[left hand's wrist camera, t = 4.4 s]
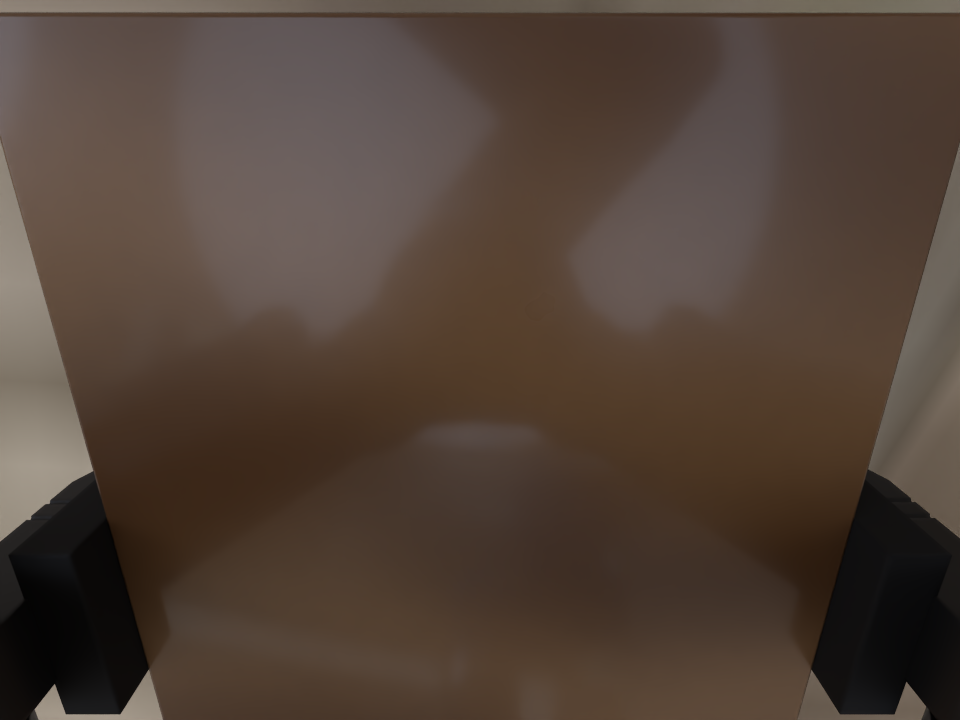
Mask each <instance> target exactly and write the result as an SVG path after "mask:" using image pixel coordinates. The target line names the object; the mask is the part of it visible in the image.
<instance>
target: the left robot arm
mask: <svg viewBox="0 0 960 720" xmlns="http://www.w3.org/2000/svg"><path fill="white" fill-rule="evenodd" d="M148 670H149V667H148V664H147V660H146V657H145V653H144V649H143V646H142V642H141V639H140V635H139V632H138V628H137V625H136V621H135V617H134V614H133V610H132V607H131V603H130V600H129V596H128V592H127V589H126V585H125V582H124V578H123V575H122V571H121V567H120V564H119V560H118V557H117V553H116V550H115V546H114V543H113V539H112V535H111V532H110V528H109V525H108V521H107V518H106V514H105V510H104V507H103V503H102V500H101V496H100V493H99V489H98V486H97V482H96V478H95V475H94V471H93V472H91V473H89V474H87V475H85V476H83V477H81V478H79V479H77V480H75V481H74V482H72V483H71V484H70V485H68V486H67V487H66V488H65V489H63V490H62V491H61V492H60V493H59V494H57V495H56V496H55V497H54V498H53V499H51V500H50V504H45V505H44V506H43V507H42V508H41V509H39V510H38V511H37V512H36V513H34V514H33V515H32V516H31V520H26V521H25V522H24V523H22V524H21V525H20V526H19V527H18V528H16V529H15V530H14V531H13V532H12V533H10V534H9V535H8V536H7V537H5V538H4V539H3V540H2V541H1V542H0V720H38V717H37V715H36V712H35V710H34V709H35V708H36V707H37V705H38V704H39V703H40V702H41V700H42V699H43V698H44V697H45V695H46V694H47V693H48V691H49V690H50V689H51V688H52V686H53V685H54V684H55V685H56V688H57V691H58V694H59V696H60V699H61V702H62V705H63V707H64V710H65V713H66V714H121V712H122V711H123V709H124V708H125V706H126V705H127V703H128V701H129V700H130V698H131V697H132V695H133V693H134V692H135V690H136V689H137V687H138V686H139V684H140V682H141V681H142V679H143V678H144V676H145V674H146V673H147V671H148ZM812 671H813V672H814V674H815V675H816V677H817V679H818V680H819V682H820V683H821V685H822V687H823V688H824V690H825V691H826V693H827V694H828V696H829V698H830V699H831V701H832V702H833V704H834V705H835V707H836V709H837V710H838V712H839V713H840V714H895V711H896V709H897V706H898V703H899V700H900V698H901V695H902V692H903V690H904V687H905V684H906V681H907V683H908V684H909V685H910V686H911V688H912V689H913V690H914V692H915V693H916V694H917V695H918V697H919V698H920V699H921V700H922V702H923V703H924V704H925V705H926V710H925V712H924V715H923V717H922V720H960V538H959V537H957V536H956V535H955V534H954V533H952V532H951V531H950V530H949V529H948V528H946V527H945V526H944V525H943V524H941V523H940V522H939V521H938V520H937V519H935V518H930V514H929V513H928V512H927V511H926V510H924V509H923V508H922V507H921V506H920V505H918V504H917V503H916V502H911V498H910V497H909V496H907V495H906V494H905V493H904V492H902V491H901V490H900V489H899V488H898V487H896V486H895V485H894V484H893V483H892V482H890V481H889V480H887V479H886V478H884V477H882V476H880V475H878V474H876V473H874V472H872V471H870V470H867V474H866V477H865V481H864V484H863V488H862V491H861V495H860V499H859V502H858V506H857V509H856V513H855V516H854V520H853V523H852V527H851V530H850V534H849V538H848V541H847V545H846V548H845V552H844V555H843V559H842V562H841V566H840V570H839V573H838V577H837V580H836V584H835V587H834V591H833V594H832V598H831V602H830V605H829V609H828V612H827V616H826V619H825V623H824V626H823V630H822V633H821V637H820V641H819V644H818V648H817V651H816V655H815V658H814V662H813V665H812Z"/></svg>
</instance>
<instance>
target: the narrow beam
mask: <svg viewBox="0 0 960 720" xmlns="http://www.w3.org/2000/svg"><path fill="white" fill-rule="evenodd" d="M0 140H1V143H2V147H3V151H4V154H5V158H6V161H7V165H8V168H9V172H10V175H11V179H12V183H13V186H14V190H15V193H16V197H17V200H18V204H19V208H20V211H21V215H22V218H23V222H24V225H25V229H26V232H27V236H28V240H29V243H30V247H31V250H32V254H33V257H34V261H35V265H36V268H37V272H38V275H39V279H40V282H41V286H42V290H43V293H44V297H45V300H46V304H47V307H48V311H49V314H50V318H51V322H52V325H53V329H54V332H55V336H56V339H57V343H58V347H59V350H60V354H61V357H62V361H63V364H64V368H65V371H66V375H67V379H68V382H69V386H70V389H71V393H72V396H73V400H74V404H75V407H76V411H77V414H78V418H79V421H80V425H81V428H82V432H83V436H84V439H85V443H86V446H87V450H88V453H89V457H90V461H91V464H92V468H93V471H94V475H95V478H96V482H97V486H98V489H99V493H100V496H101V500H102V503H103V507H104V510H105V514H106V518H107V521H108V525H109V528H110V532H111V535H112V539H113V543H114V546H115V550H116V553H117V557H118V560H119V564H120V567H121V571H122V575H123V578H124V582H125V585H126V589H127V592H128V596H129V600H130V603H131V607H132V610H133V614H134V617H135V621H136V625H137V628H138V632H139V635H140V639H141V642H142V646H143V649H144V653H145V657H146V660H147V664H148V667H149V671H150V674H151V678H152V682H153V685H154V689H155V692H156V696H157V699H158V703H159V706H160V710H161V714H162V717H163V720H797V719H798V715H799V712H800V708H801V705H802V701H803V697H804V694H805V690H806V687H807V683H808V680H809V676H810V673H811V669H812V665H813V662H814V658H815V655H816V651H817V648H818V644H819V641H820V637H821V633H822V630H823V626H824V623H825V619H826V616H827V612H828V609H829V605H830V602H831V598H832V594H833V591H834V587H835V584H836V580H837V577H838V573H839V570H840V566H841V562H842V559H843V555H844V552H845V548H846V545H847V541H848V538H849V534H850V530H851V527H852V523H853V520H854V516H855V513H856V509H857V506H858V502H859V499H860V495H861V491H862V488H863V484H864V481H865V477H866V474H867V470H868V467H869V463H870V459H871V456H872V452H873V449H874V445H875V442H876V438H877V435H878V431H879V427H880V424H881V420H882V417H883V413H884V410H885V406H886V403H887V399H888V396H889V392H890V388H891V385H892V381H893V378H894V374H895V371H896V367H897V364H898V360H899V356H900V353H901V349H902V346H903V342H904V339H905V335H906V332H907V328H908V324H909V321H910V317H911V314H912V310H913V307H914V303H915V300H916V296H917V293H918V289H919V285H920V282H921V278H922V275H923V271H924V268H925V264H926V261H927V257H928V253H929V250H930V246H931V243H932V239H933V236H934V232H935V229H936V225H937V221H938V218H939V214H940V211H941V207H942V204H943V200H944V197H945V193H946V190H947V186H948V182H949V179H950V175H951V172H952V168H953V165H954V161H955V158H956V154H957V150H958V147H959V143H960V13H0Z"/></svg>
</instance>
